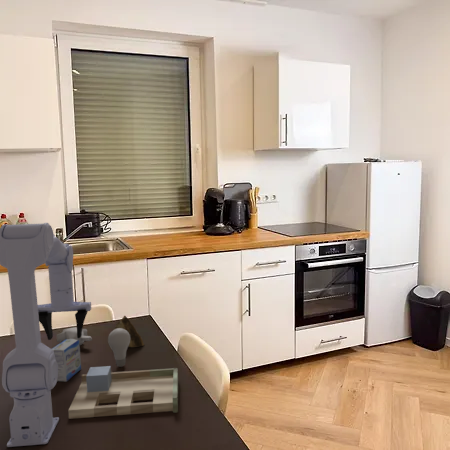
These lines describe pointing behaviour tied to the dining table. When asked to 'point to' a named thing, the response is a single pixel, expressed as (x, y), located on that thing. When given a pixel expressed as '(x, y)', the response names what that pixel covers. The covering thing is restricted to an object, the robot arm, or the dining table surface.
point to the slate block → (98, 379)
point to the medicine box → (67, 359)
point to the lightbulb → (119, 344)
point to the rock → (130, 332)
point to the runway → (129, 394)
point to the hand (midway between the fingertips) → (65, 337)
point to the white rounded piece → (73, 335)
